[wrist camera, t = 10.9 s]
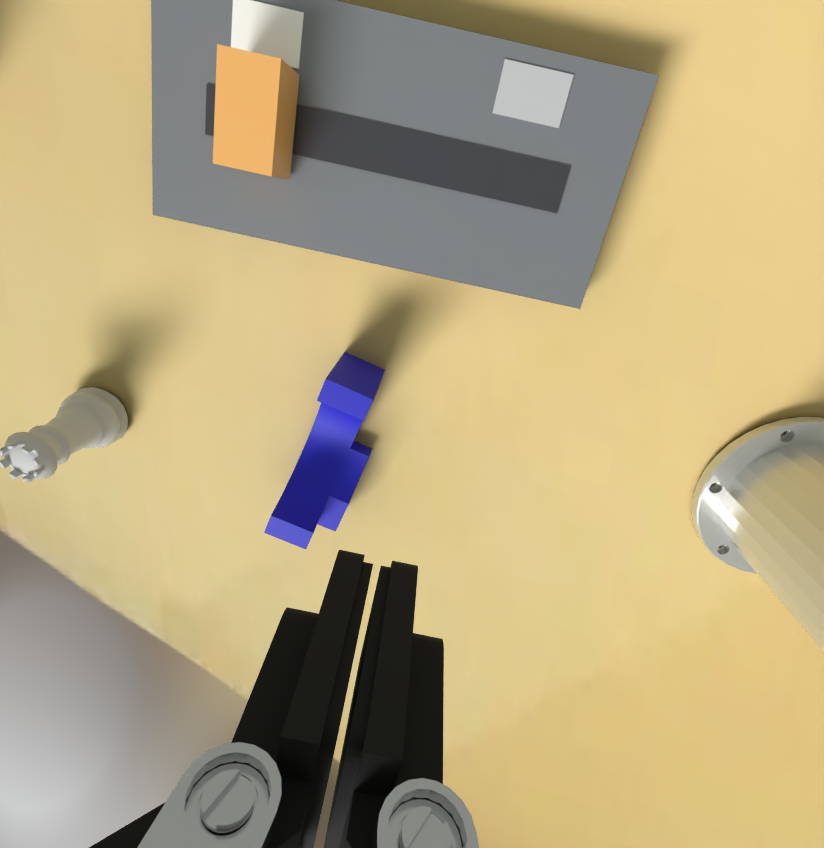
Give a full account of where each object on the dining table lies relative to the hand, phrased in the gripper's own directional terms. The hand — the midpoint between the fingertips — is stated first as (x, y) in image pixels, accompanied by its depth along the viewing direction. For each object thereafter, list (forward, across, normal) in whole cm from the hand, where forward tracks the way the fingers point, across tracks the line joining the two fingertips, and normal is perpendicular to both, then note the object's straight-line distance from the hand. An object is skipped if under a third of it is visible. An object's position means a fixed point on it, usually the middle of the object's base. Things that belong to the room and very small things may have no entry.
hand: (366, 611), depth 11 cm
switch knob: (+23, +11, -10) cm, 27 cm away
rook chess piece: (+25, +22, +11) cm, 35 cm away
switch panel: (+25, +4, -10) cm, 27 cm away
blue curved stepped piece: (+26, +4, +9) cm, 27 cm away
